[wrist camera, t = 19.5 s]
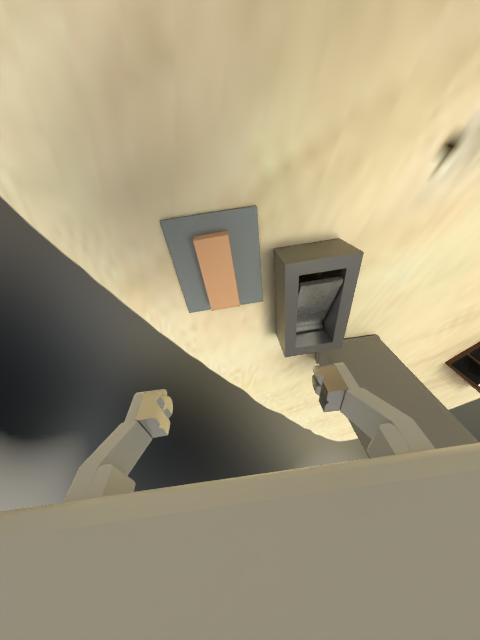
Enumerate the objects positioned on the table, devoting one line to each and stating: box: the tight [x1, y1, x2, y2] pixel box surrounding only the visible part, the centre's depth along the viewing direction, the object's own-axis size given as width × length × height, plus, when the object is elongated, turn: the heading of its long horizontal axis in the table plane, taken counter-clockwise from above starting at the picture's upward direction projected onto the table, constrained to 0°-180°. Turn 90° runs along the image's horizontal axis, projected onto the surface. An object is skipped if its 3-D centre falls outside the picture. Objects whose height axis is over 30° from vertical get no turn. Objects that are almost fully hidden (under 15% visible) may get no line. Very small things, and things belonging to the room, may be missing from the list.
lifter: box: [296, 276, 343, 333], centre depth 37 cm, size 13×6×2 cm, turn 7°
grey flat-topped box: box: [315, 335, 479, 458], centre depth 40 cm, size 14×6×25 cm, turn 95°
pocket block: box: [274, 238, 364, 357], centre depth 37 cm, size 19×11×7 cm, turn 7°
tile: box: [193, 231, 240, 311], centre depth 34 cm, size 12×5×2 cm, turn 8°
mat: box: [160, 206, 263, 313], centre depth 35 cm, size 14×16×1 cm
